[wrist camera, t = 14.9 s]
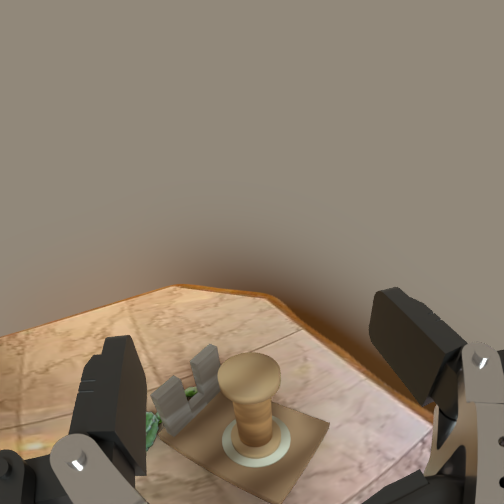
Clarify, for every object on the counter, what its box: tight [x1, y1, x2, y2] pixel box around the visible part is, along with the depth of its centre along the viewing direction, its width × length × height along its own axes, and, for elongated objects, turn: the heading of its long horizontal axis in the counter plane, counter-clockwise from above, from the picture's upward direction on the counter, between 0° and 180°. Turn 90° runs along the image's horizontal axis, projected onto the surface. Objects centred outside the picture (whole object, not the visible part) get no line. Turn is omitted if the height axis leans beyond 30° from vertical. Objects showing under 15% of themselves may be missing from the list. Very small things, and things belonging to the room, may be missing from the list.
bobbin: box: [217, 352, 281, 459], centre depth 31 cm, size 6×6×12 cm
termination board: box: [150, 344, 330, 504], centre depth 34 cm, size 18×13×10 cm
